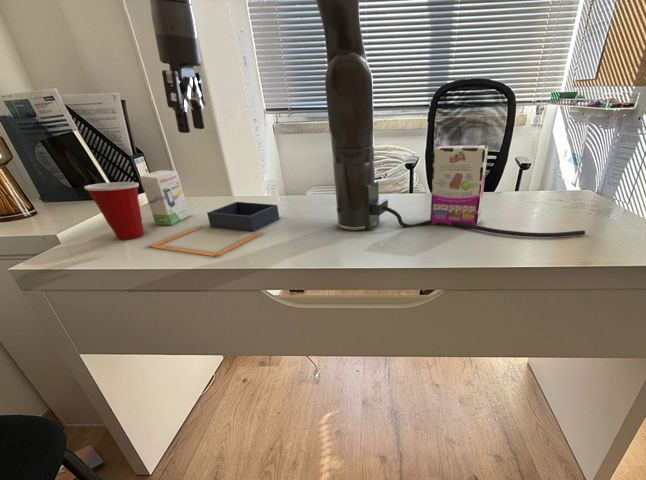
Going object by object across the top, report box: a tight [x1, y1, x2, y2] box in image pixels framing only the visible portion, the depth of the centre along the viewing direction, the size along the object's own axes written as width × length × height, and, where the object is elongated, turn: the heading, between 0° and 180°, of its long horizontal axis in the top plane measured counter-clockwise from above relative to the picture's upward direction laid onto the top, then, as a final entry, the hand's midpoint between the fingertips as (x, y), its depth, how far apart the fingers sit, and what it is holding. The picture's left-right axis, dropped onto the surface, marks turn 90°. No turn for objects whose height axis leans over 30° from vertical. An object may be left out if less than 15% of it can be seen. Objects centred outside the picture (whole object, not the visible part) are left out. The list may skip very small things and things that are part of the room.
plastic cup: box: [83, 181, 145, 241], centre depth 90 cm, size 11×11×12 cm
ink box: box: [139, 169, 191, 226], centre depth 100 cm, size 9×5×12 cm, turn 168°
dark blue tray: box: [206, 201, 280, 232], centre depth 98 cm, size 13×11×4 cm
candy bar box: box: [429, 145, 489, 227], centre depth 87 cm, size 11×5×16 cm, turn 68°
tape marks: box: [148, 226, 261, 258], centre depth 88 cm, size 20×15×1 cm
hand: (192, 130), depth 83 cm, fingers open, 8 cm apart
